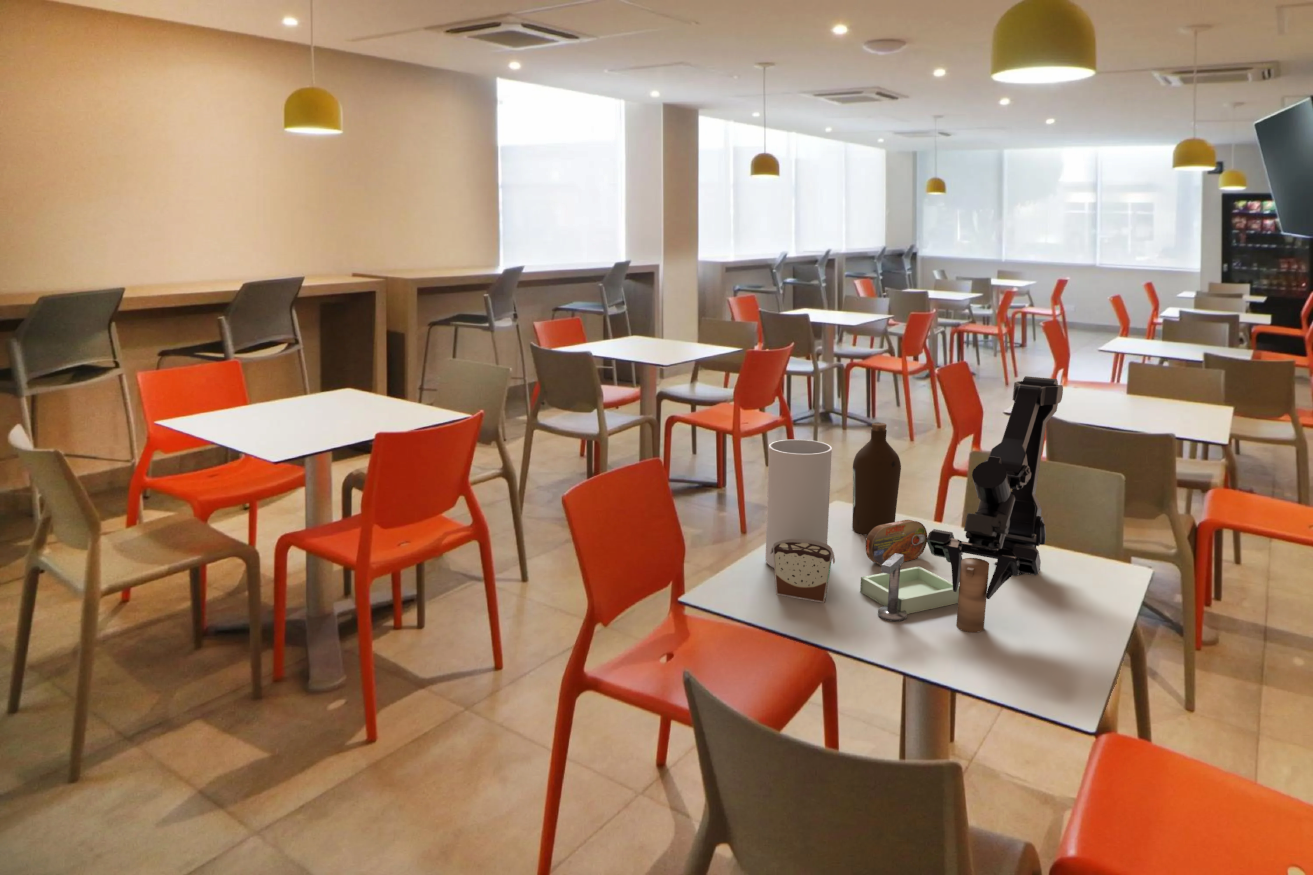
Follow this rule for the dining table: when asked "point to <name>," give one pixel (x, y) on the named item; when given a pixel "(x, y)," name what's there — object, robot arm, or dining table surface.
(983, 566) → the brown coffee tumbler
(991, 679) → the dining table surface
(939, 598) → the tray
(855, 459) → the olive oil
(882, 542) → the tin
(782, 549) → the food container
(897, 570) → the t stake
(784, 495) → the cylinder vase
